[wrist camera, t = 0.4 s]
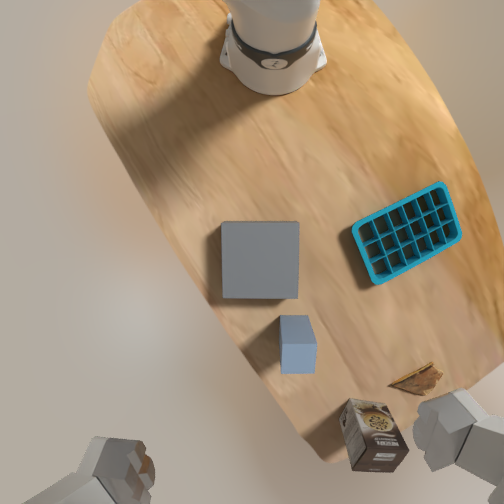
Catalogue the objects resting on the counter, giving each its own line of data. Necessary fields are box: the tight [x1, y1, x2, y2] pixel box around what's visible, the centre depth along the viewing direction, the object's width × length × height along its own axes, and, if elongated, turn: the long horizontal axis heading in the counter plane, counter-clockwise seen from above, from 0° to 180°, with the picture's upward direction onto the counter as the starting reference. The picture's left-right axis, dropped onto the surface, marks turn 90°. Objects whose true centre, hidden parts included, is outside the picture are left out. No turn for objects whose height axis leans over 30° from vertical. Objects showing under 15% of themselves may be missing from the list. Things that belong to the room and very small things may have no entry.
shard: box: [391, 362, 443, 395], centre depth 57 cm, size 11×8×2 cm
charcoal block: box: [221, 221, 299, 299], centre depth 53 cm, size 12×12×5 cm
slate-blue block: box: [279, 315, 317, 374], centre depth 51 cm, size 5×5×12 cm
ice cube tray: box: [352, 181, 462, 285], centre depth 52 cm, size 12×20×3 cm, turn 116°
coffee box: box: [339, 398, 409, 472], centre depth 51 cm, size 9×6×16 cm
